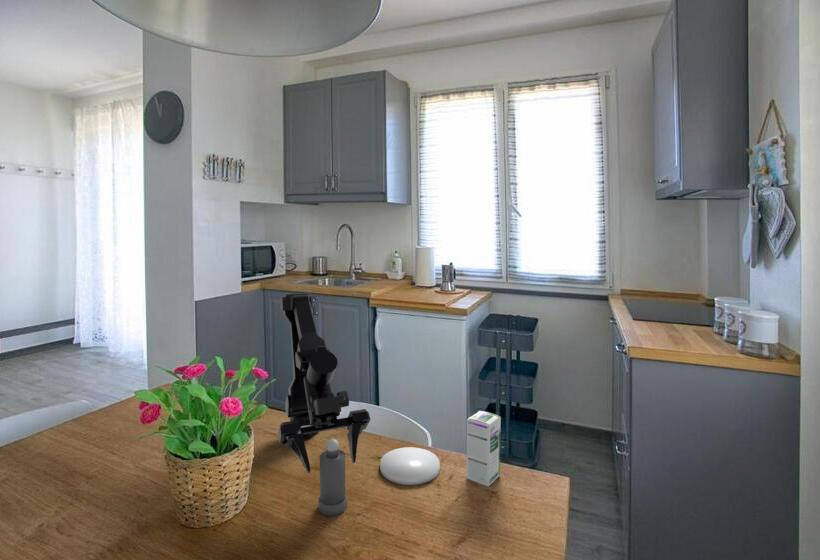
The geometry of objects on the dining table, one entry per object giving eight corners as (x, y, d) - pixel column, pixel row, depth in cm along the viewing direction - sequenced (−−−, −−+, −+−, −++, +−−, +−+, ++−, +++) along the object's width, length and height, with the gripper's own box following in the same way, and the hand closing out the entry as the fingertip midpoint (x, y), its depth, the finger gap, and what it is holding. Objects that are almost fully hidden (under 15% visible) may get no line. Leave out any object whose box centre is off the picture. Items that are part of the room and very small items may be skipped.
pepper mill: (313, 509, 87) (312, 441, 86) (332, 495, 92) (331, 430, 90) (333, 519, 84) (333, 449, 83) (352, 504, 89) (352, 438, 87)
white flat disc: (368, 472, 101) (368, 466, 101) (402, 447, 113) (402, 442, 112) (419, 492, 93) (419, 485, 93) (449, 463, 105) (450, 457, 105)
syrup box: (488, 487, 95) (490, 424, 94) (465, 478, 99) (466, 417, 97) (500, 476, 100) (502, 415, 98) (477, 467, 103) (478, 409, 102)
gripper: (278, 384, 87) (288, 463, 78) (367, 373, 94) (385, 444, 85) (274, 408, 95) (283, 482, 86) (357, 395, 102) (372, 462, 93)
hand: (332, 467), depth 87 cm, fingers open, 9 cm apart
